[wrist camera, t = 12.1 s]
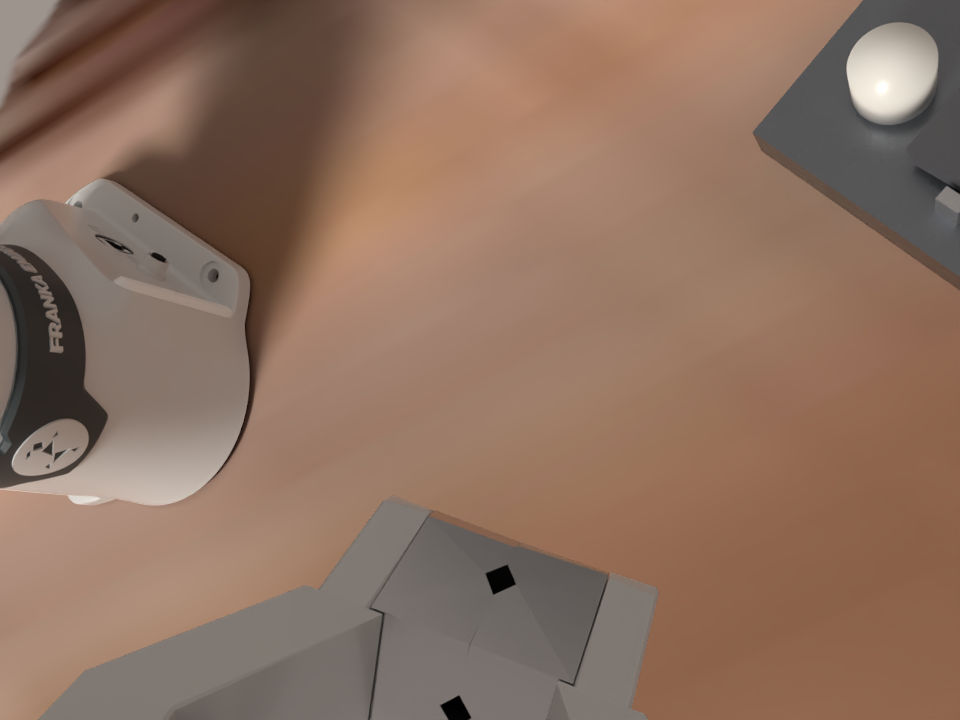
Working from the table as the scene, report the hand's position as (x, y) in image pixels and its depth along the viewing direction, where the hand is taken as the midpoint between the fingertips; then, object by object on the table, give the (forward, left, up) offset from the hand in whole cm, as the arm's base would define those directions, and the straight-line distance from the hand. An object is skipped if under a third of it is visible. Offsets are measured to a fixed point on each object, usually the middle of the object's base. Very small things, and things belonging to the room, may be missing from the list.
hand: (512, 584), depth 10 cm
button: (-9, +15, -30) cm, 34 cm away
